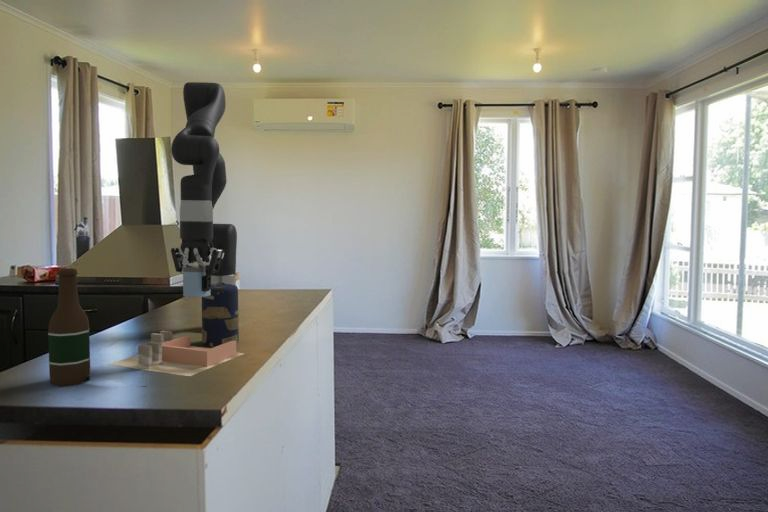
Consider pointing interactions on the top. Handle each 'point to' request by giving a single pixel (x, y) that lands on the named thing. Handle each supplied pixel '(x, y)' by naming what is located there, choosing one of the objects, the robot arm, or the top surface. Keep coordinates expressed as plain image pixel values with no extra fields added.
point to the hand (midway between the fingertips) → (197, 290)
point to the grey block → (193, 282)
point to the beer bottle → (68, 335)
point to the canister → (220, 315)
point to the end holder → (196, 352)
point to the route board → (152, 358)
